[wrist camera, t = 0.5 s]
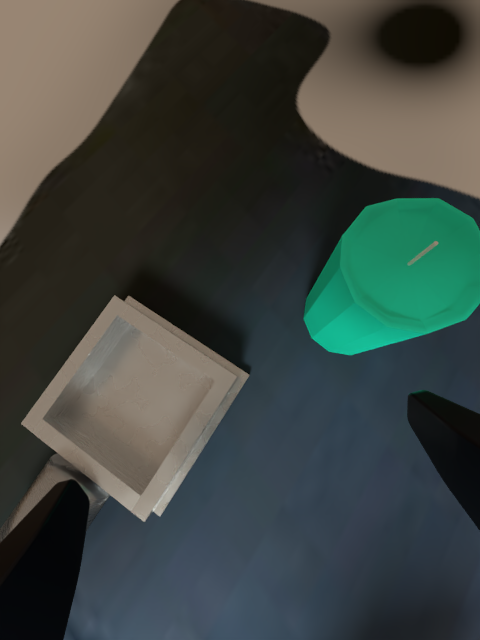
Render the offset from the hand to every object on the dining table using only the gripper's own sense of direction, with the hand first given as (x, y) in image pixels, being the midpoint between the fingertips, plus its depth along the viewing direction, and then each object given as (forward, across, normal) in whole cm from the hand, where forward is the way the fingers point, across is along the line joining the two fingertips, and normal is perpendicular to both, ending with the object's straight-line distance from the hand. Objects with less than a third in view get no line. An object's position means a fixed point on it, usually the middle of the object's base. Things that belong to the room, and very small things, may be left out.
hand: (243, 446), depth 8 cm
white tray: (+11, +10, +8) cm, 17 cm away
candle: (+14, -8, +5) cm, 17 cm away
